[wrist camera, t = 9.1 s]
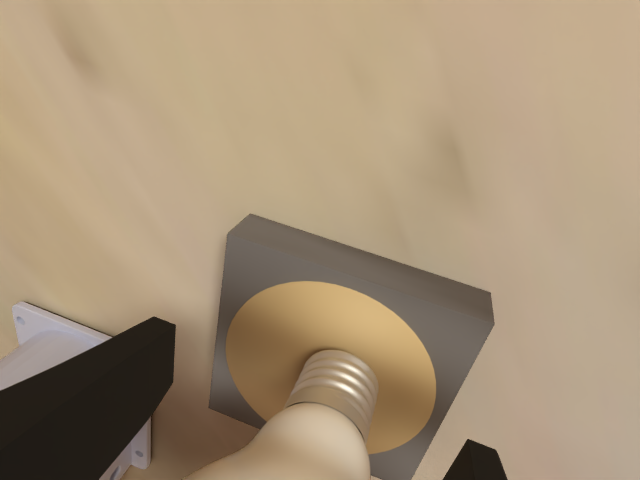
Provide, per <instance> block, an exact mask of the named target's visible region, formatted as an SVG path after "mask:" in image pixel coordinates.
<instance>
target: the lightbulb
mask: <svg viewBox="0 0 640 480" xmlns="http://www.w3.org/2000/svg"><path fill="white" fill-rule="evenodd" d="M378 391H379V386H378V381H377V378H376V376H375V374H374V372H373V371H372V369H371V368H370V367H369V366H368V365H367V364H366V363H365V362H364V361H362V360H361V359H360V358H358V357H356V356H354V355H352V354H350V353H347V352H344V351H339V350H324V351H320V352H318V353H315V354H314V355H312V356H311V357H310V358H309V359H308V360H307V361H306V363H305V365H304V367H303V370H302V372H301V373H300V375H299V378H298V380H297V382H296V384H295V386H294V389H293V390H292V392H291V394H290V397H289V399H288V400H287V402H286V404H285V406H284V408H283V410H281V411H280V412H278V413H277V414H275V415H274V416H273V417H272V418H271V419H269V420H268V421H267V422H266V424H265V425H264V426H263V427H262V428H261V429H260V431H259V432H258V433H257V434H256V436H255V437H254V438H253V439H252V440H251V441H250V442H249V443H248V444H247V445H246V446H245V447H243V448H242V449H240V450H238V451H236V452H234V453H232V454H230V455H228V456H226V457H223V458H221V459H219V460H217V461H215V462H212V463H210V464H208V465H206V466H204V467H202V468H200V469H198V470H197V471H195V472H193V473H191V474H190V475H188V476H186V477H185V478H183V479H181V480H371V468H370V460H369V455H368V451H367V448H366V444H367V439H368V434H369V430H370V425H371V422H372V415H373V413H374V409H375V404H376V401H377V395H378Z"/></svg>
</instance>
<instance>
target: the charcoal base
mask: <svg viewBox="0 0 640 480" xmlns="http://www.w3.org/2000/svg"><path fill="white" fill-rule="evenodd" d="M493 326H494V316H493V308H492V300H491V293H490V292H487V291H484V290H481V289H478V288H475V287H472V286H469V285H466V284H463V283H460V282H457V281H454V280H451V279H448V278H445V277H441V276H438V275H435V274H432V273H429V272H426V271H423V270H420V269H417V268H414V267H411V266H408V265H405V264H402V263H399V262H396V261H393V260H390V259H387V258H384V257H381V256H378V255H375V254H372V253H368V252H365V251H362V250H359V249H356V248H353V247H350V246H347V245H344V244H341V243H338V242H335V241H332V240H329V239H326V238H323V237H320V236H317V235H314V234H311V233H308V232H305V231H302V230H299V229H295V228H292V227H289V226H286V225H283V224H280V223H277V222H274V221H271V220H268V219H265V218H262V217H259V216H256V215H253V214H249V215H248V216H247V217H246V218H245V219H243V220H242V221H241V222H240V223H239V224H238V225H237V226H235V227H234V228H233V229H232V230H231V231H230V232H229V233H228V234H227V243H226V252H225V262H224V271H223V280H222V289H221V298H220V307H219V317H218V326H217V335H216V344H215V353H214V362H213V372H212V381H211V390H210V399H209V408H210V409H212V410H215V411H217V412H220V413H222V414H225V415H227V416H229V417H232V418H234V419H237V420H239V421H241V422H244V423H246V424H249V425H251V426H254V427H256V428H258V429H261V428H262V427H263V426H264V425H265V424H266V422H267V421H268V420H269V419H271V418H272V417H273V416H274V415H275V414H277V413H278V412H280V411H281V410H283V408H284V406H285V404H286V402H287V400H288V399H289V397H290V394H291V392H292V390H293V389H294V386H295V384H296V382H297V380H298V378H299V375H300V373H301V372H302V370H303V367H304V365H305V363H306V361H307V360H308V359H309V358H310V357H311V356H312V355H314V354H315V353H318V352H320V351H324V350H339V351H344V352H347V353H350V354H352V355H354V356H356V357H358V358H360V359H361V360H362V361H364V362H365V363H366V364H367V365H368V366H369V367H370V368H371V369H372V371H373V372H374V374H375V376H376V378H377V381H378V386H379V391H378V395H377V401H376V404H375V409H374V413H373V415H372V422H371V425H370V430H369V434H368V439H367V444H366V448H367V451H368V455H369V460H370V468H371V475H372V476H374V477H377V478H379V479H382V480H411V479H412V477H413V475H414V473H415V471H416V470H417V468H418V466H419V464H420V462H421V460H422V458H423V457H424V455H425V453H426V451H427V449H428V447H429V445H430V444H431V442H432V440H433V438H434V436H435V434H436V432H437V430H438V429H439V427H440V425H441V423H442V421H443V419H444V417H445V416H446V414H447V412H448V410H449V408H450V406H451V404H452V403H453V401H454V399H455V397H456V395H457V393H458V391H459V389H460V388H461V386H462V384H463V382H464V380H465V378H466V376H467V375H468V373H469V371H470V369H471V367H472V365H473V363H474V362H475V360H476V358H477V356H478V354H479V352H480V350H481V349H482V347H483V345H484V343H485V341H486V339H487V337H488V335H489V334H490V332H491V330H492V328H493Z"/></svg>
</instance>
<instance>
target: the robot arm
mask: <svg viewBox="0 0 640 480" xmlns="http://www.w3.org/2000/svg"><path fill="white" fill-rule="evenodd" d="M12 312H13V317H14V322H15V327H16V332H17V337H18V342H19V347H18V348H16V349H15V350H14V351H12V352H11V353H9V354H8V355H7V356H5V357H4V358H2V359H1V360H0V480H120V478H121V477H122V476H123V474H124V473H125V472H126V470H127V469H128V468H129V466H130V465H133V466H135V467H137V468H140V469H146V468H147V467H148V466H149V464H150V462H151V415H152V414H153V412H154V411H155V409H156V408H157V406H158V405H159V403H160V402H161V400H162V399H163V397H164V396H165V394H166V392H167V391H168V389H169V388H170V386H171V385H172V383H173V372H174V351H175V330H176V325H175V324H172V323H169V322H167V321H164V320H162V319H159V318H157V317H152V318H150V319H148V320H146V321H144V322H142V323H140V324H138V325H136V326H134V327H132V328H130V329H128V330H126V331H124V332H122V333H120V334H118V335H116V336H114V337H110V336H108V335H105V334H103V333H100V332H98V331H95V330H93V329H90V328H88V327H85V326H83V325H80V324H78V323H75V322H73V321H70V320H68V319H65V318H63V317H60V316H58V315H55V314H53V313H50V312H48V311H45V310H43V309H40V308H38V307H35V306H33V305H30V304H28V303H25V302H18V303H16V304H15V305H13V307H12ZM443 480H507V477H506V474H505V471H504V469H503V466H502V463H501V461H500V458H499V455H498V453H497V451H496V450H495V449H492V448H490V447H487V446H485V445H482V444H480V443H477V442H475V441H472V440H469V439H467V441H466V442H465V444H464V446H463V447H462V449H461V451H460V452H459V454H458V456H457V457H456V459H455V460H454V462H453V464H452V465H451V467H450V469H449V470H448V472H447V474H446V475H445V477H444V478H443Z"/></svg>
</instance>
